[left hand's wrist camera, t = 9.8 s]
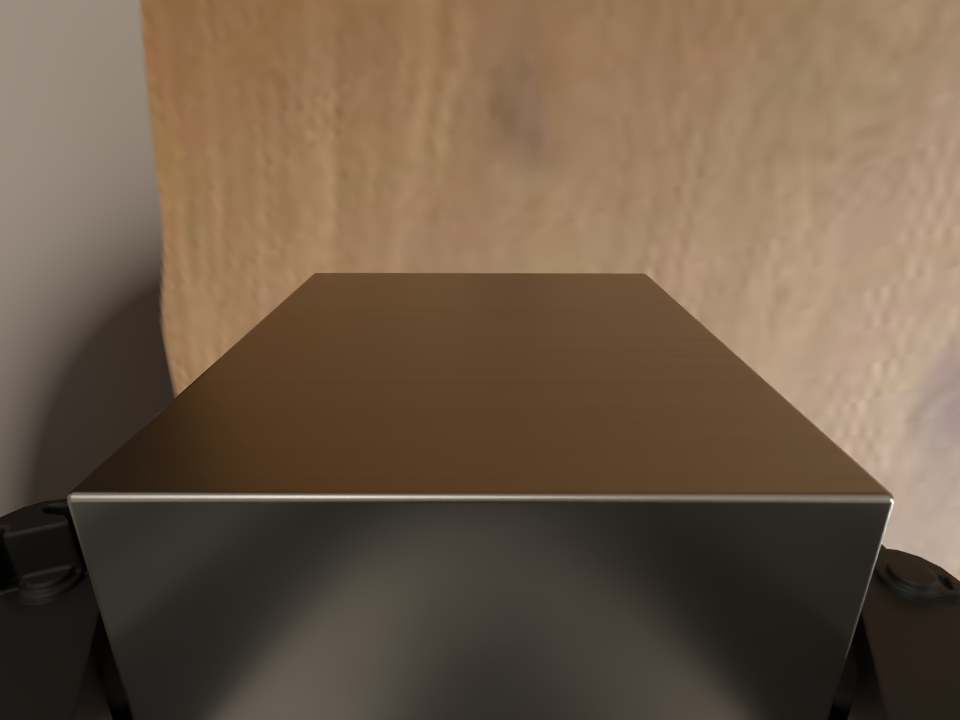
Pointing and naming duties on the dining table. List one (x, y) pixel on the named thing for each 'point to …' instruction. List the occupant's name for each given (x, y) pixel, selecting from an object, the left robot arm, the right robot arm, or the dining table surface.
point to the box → (480, 516)
